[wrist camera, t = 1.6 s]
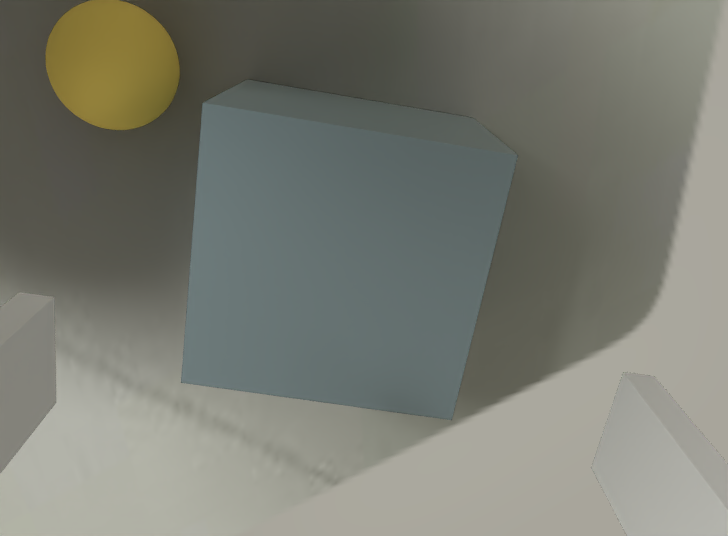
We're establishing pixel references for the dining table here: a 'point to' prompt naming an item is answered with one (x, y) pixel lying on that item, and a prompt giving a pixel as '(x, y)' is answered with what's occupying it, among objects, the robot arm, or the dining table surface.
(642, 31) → the dining table surface
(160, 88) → the ball
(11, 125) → the dining table surface
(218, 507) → the dining table surface
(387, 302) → the grey-blue flat-faced block
